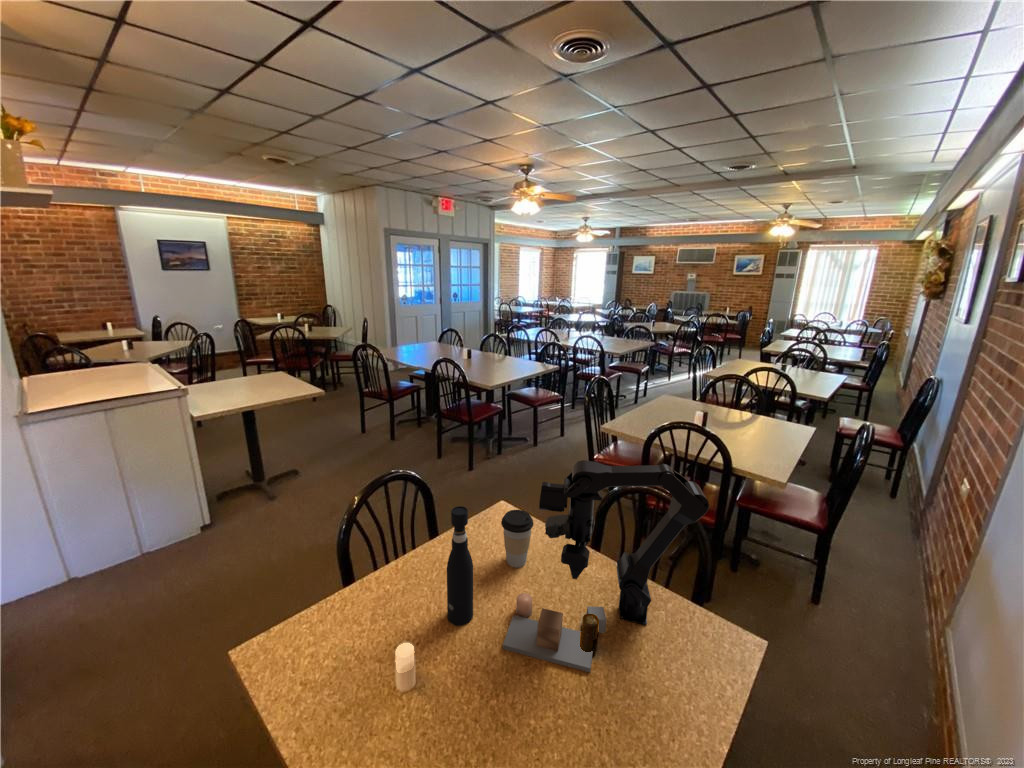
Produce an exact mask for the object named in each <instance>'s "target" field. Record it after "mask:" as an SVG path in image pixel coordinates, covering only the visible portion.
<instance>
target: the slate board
mask: <svg viewBox="0 0 1024 768" xmlns="http://www.w3.org/2000/svg"><path fill="white" fill-rule="evenodd" d="M538 621H539V620H535V619H532V618H529V617H528V618H524V617H520V616H518V615H517V614H516V615H515V614H513V615H512V617H511V621H510V623H509V626H508V630H507V633H506V635H505V637H504V640H503V643H502V649H503V650H505V651H508V652H512V653H517V654H520V655H525V656H527V657H531V658H534V659H538V660H543V661H546V662H549V663H553V664H557V665H561V666H564V667H568V668H571V669H575V670H579V671H583V672H586V673H591V668H592V660H593V659H592V658H593V652H594V650H593V651H591V652H585V651H583V650H582V649H581V647H580V632H581V631H580V630H576V629H572V628H567V627H563V626H562V634H561V639H560V644H559V649H558V651H554V650H550V649H547V648H543V647H539V646H537V626H538Z"/></svg>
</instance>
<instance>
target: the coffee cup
mask: <svg viewBox="0 0 1024 768" xmlns="http://www.w3.org/2000/svg"><path fill="white" fill-rule="evenodd" d="M500 523H501V527H502V528H503V542H504V548H505V557H506V559H505V560H506V564H508V565H509V566H510V567H512V568H515V569H516V568H519V569H520V568H521V567H524V566H525V565H526V563H527V558H528V553H529V552H528V551H529V548H530V542H531V537H532V529H533V527H534V520H533V517H532V516H531V514H530V513H529V512H528V511H525V510H522V509H512V510H509V511H507V512H506V513H504V516H503V517H502V518H501V522H500Z"/></svg>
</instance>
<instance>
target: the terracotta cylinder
mask: <svg viewBox="0 0 1024 768" xmlns="http://www.w3.org/2000/svg"><path fill="white" fill-rule="evenodd" d="M515 609H516V610H515V613H516V616H520V617H524V618H528V619H529V617H531V616H532V613H533V597H532V596H531V594H529V593H527V592H523V593H522V592H521V593H519V594H518V595H517V596H516V608H515Z"/></svg>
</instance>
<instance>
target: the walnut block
mask: <svg viewBox="0 0 1024 768" xmlns="http://www.w3.org/2000/svg"><path fill="white" fill-rule="evenodd" d="M563 618H564V612H562V611H561V612H559V611H555V610H552V609H548V608H543V607H542V608H541V610H540V615H539V618H538V620H537V621H538V626H537V646H539V647H543V648H547V649H550V650H554V651H558V649H559V644H560V639H561V634H562V627H563Z"/></svg>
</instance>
